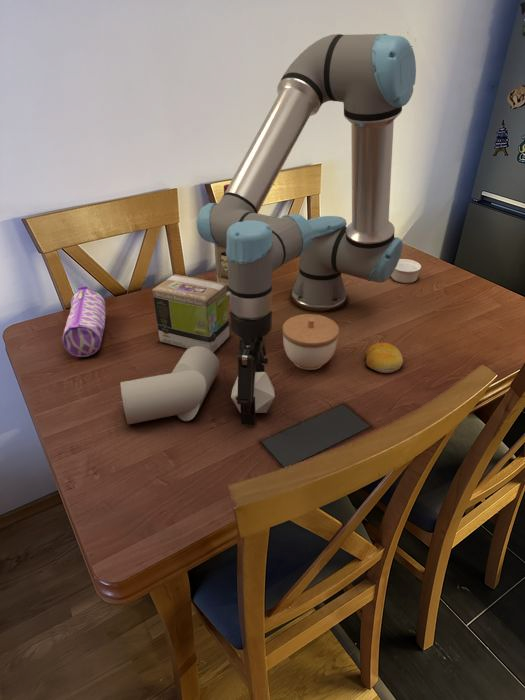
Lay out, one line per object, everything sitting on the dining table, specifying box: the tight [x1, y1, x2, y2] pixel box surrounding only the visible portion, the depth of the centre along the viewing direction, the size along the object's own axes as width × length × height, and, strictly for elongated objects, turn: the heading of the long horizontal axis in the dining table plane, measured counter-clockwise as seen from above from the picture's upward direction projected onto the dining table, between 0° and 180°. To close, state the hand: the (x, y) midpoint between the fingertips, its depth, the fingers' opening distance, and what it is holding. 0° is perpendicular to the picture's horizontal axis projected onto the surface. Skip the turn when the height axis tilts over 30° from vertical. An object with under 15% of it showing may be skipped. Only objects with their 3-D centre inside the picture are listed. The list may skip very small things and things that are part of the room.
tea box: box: [151, 273, 230, 353], centre depth 118 cm, size 15×10×15 cm
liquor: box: [213, 183, 230, 292], centre depth 137 cm, size 9×9×30 cm
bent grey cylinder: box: [120, 346, 221, 425], centre depth 99 cm, size 18×11×20 cm
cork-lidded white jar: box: [282, 313, 340, 371], centre depth 111 cm, size 13×13×11 cm
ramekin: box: [390, 258, 422, 284], centre depth 150 cm, size 9×9×4 cm
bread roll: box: [365, 342, 404, 374], centre depth 112 cm, size 8×9×4 cm
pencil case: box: [62, 285, 107, 358], centre depth 121 cm, size 22×9×10 cm, turn 14°
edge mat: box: [260, 404, 371, 468], centre depth 94 cm, size 20×8×1 cm, turn 122°
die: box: [230, 371, 276, 414], centre depth 98 cm, size 8×9×10 cm
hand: (253, 406), depth 100 cm, fingers closed on die, 10 cm apart
